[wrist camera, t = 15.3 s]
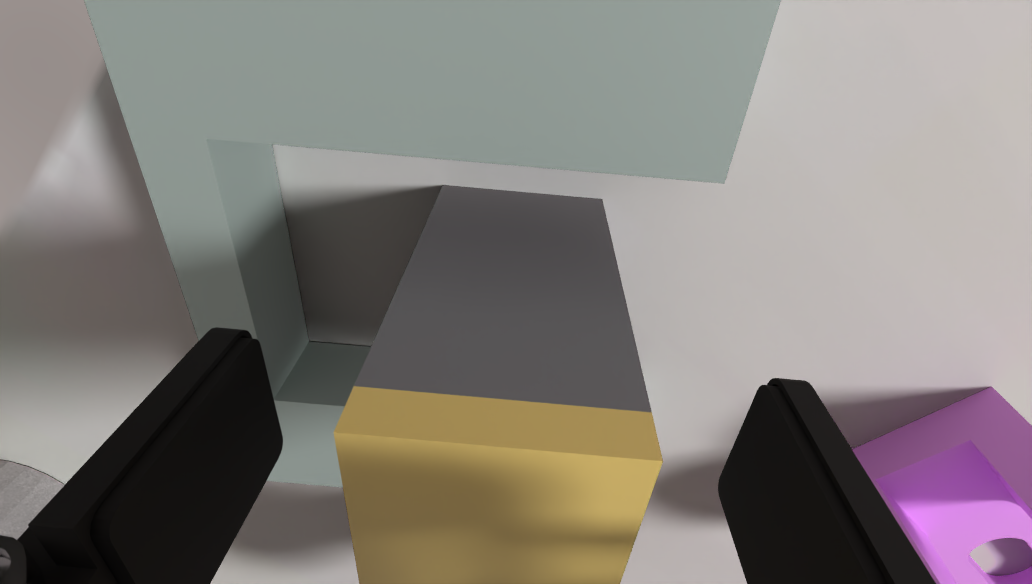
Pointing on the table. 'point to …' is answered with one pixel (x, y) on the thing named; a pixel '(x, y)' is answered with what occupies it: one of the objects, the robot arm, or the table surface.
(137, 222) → the table surface
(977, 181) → the table surface
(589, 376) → the yellow and grey block
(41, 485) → the house plant
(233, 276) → the notched board
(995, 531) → the bracket
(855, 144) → the table surface
